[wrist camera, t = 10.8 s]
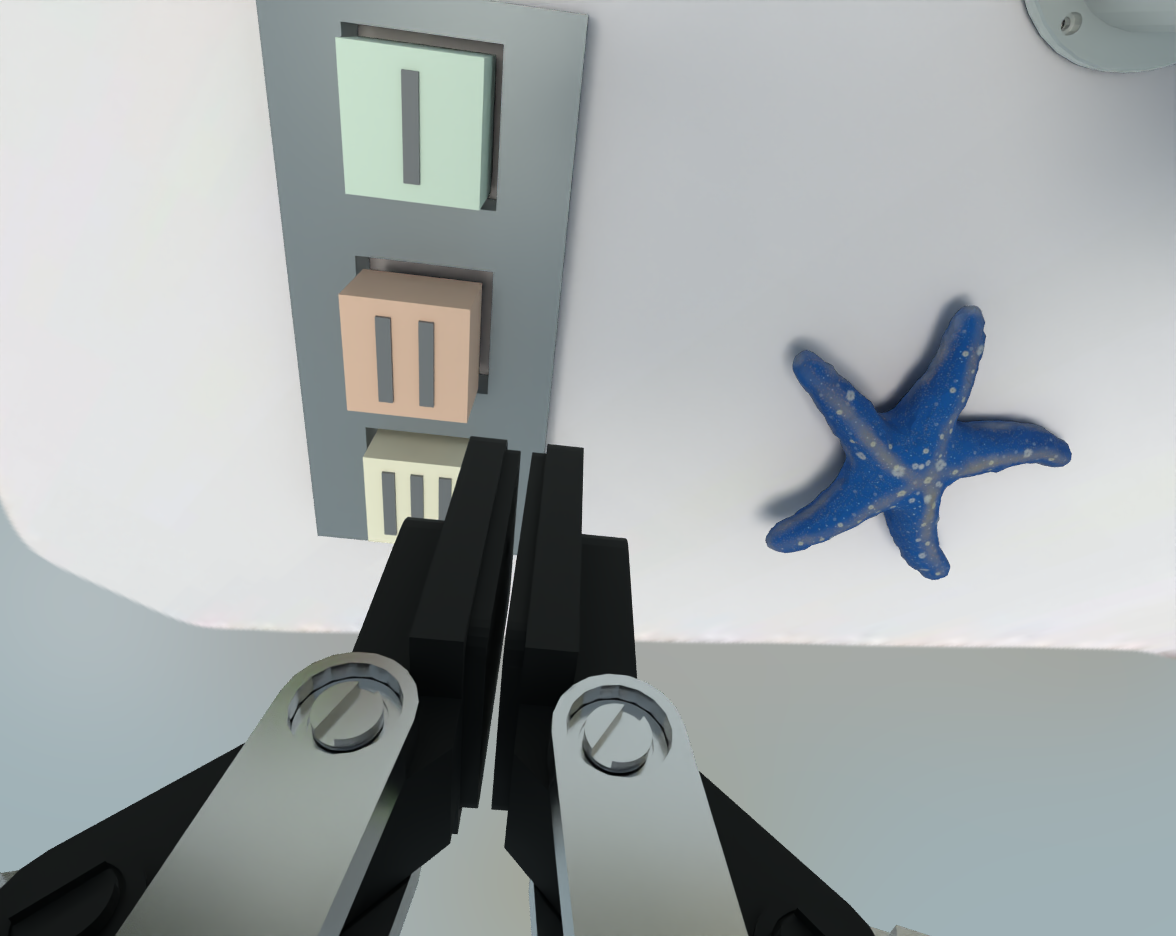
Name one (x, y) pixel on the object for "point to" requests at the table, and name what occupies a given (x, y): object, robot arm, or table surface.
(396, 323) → the tile two
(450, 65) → the tile one
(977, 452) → the starfish
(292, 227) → the board
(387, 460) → the tile three
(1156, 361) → the table surface
